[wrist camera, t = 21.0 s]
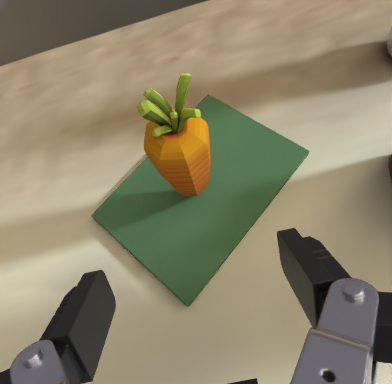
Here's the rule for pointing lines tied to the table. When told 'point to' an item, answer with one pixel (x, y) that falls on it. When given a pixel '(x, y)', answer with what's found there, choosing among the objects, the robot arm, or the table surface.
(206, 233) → the green mat
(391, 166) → the flask
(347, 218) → the table surface
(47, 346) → the robot arm
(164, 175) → the carrot
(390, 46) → the plastic bottle
